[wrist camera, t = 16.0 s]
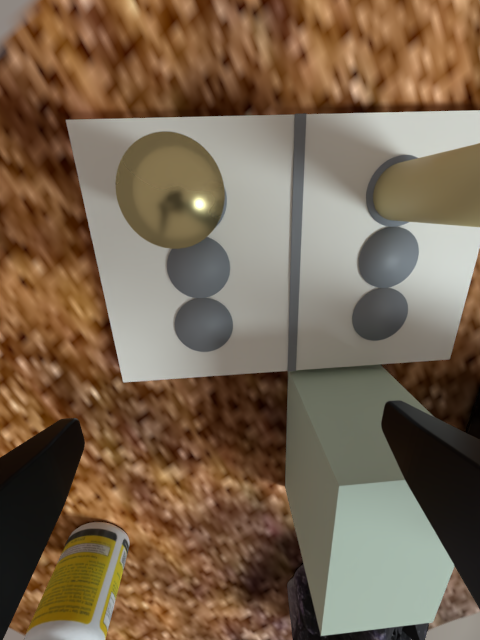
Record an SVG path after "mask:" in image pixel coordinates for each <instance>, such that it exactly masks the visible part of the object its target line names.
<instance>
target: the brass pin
mask: <svg viewBox="0 0 480 640" xmlns="http://www.w3.org/2000/svg"><path fill="white" fill-rule="evenodd" d="M115 184H116V196H117V201H118V204H119V207H120V210H121V212H122V214H123V216H124V218H125V220H126V221H127V222H128V224H129V225H130V227H131V228H132V229H133V230H134V231H135V232H136V233H137V234H138V235H139V236H141V237H142V238H143V239H145V240H146V241H148V242H150V243H152V244H154V245H157V246H160V247H164V248H170V249H180V248H186V247H190V246H193V245H195V244H197V243H199V242H201V241H202V240H204V239H205V238H206V237H207V236H208V235H209V234H210V233H211V232H212V231H213V230H214V228H215V227H216V226H217V224H218V222H219V220H220V218H221V215H222V212H223V207H224V200H225V190H224V183H223V179H222V175H221V173H220V170H219V168H218V166H217V164H216V162H215V160H214V159H213V157H212V156H211V155H210V153H209V152H208V151H207V150H206V149H205V148H204V147H203V146H202V145H200V144H199V143H198V142H196V141H195V140H193V139H192V138H190V137H188V136H186V135H183V134H180V133H176V132H170V131H161V132H154V133H151V134H148V135H146V136H143V137H141V138H140V139H138V140H137V141H135V142H134V143H133V144H132V145H131V146H130V147H129V148H128V149H127V151H126V152H125V153H124V155H123V157H122V159H121V161H120V163H119V166H118V169H117V174H116V182H115Z"/></svg>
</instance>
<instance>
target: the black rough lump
mask: <svg viewBox="0 0 480 640" xmlns="http://www.w3.org/2000/svg"><path fill="white" fill-rule="evenodd" d="M287 588H288V600H289V610H290V619H291V627H292V637H293V640H411V639H412V640H425V638H426V633H427V631H428V626H429V623H424V624H416V625H407V626H399V627H391V628H383V629H375V630H366V631H358V632H350V633H342V634H333V635H325V636H321V635H320V630H319V626H318V622H317V618H316V614H315V609H314V605H313V601H312V597H311V593H310V589H309V584H308V580H307V576H306V572H305V568H304V564H302V565H301V566H300V567H299V568H298V569H297V571H296V572H295V574H294V577H293V578H292V579H291V580H290V581H289V582H288V584H287Z"/></svg>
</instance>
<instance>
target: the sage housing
mask: <svg viewBox="0 0 480 640" xmlns="http://www.w3.org/2000/svg"><path fill="white" fill-rule="evenodd" d="M395 400H400V401H403V402H405V403H407V404H409V405H411V406H413V407H415V408H417V409H419V410H421V411H423V412H425V413H427V414H429V415H431V416H433V415H432V414H431V413H430V412H429V411H428V410H427V409H425V408H424V407H423V406H422V405H421V404H420V403H419V402H418V401H417V400H416V399H415V398H414V397H413V396H412V395H411V394H410V393H409V392H408V391H407V390H406V389H405V388H404V387H403V386H402V385H401V384H400V383H399V382H398V381H397V380H396V379H395V378H394V377H393V376H392V375H390V374H389V373H388V372H387V371H386V370H385V369H384V368H383V367H382V366H381V365H380V364H378V365H364V366H350V367H335V368H321V369H307V370H296V371H291V372H288V395H287V434H286V473H285V488H286V493H287V497H288V501H289V505H290V509H291V513H292V518H293V522H294V526H295V530H296V534H297V539H298V543H299V547H300V551H301V555H302V559H303V564H304V568H305V572H306V576H307V580H308V584H309V589H310V593H311V597H312V601H313V605H314V609H315V614H316V618H317V622H318V626H319V630H320V635H321V636H325V635H333V634H342V633H350V632H358V631H366V630H375V629H383V628H391V627H399V626H407V625H416V624H424V623H432V622H433V621H434V618H435V615H436V613H437V610H438V608H439V605H440V602H441V600H442V597H443V595H444V592H445V589H446V587H447V584H448V582H449V579H450V576H451V574H452V571H453V569H454V564H453V562H452V560H451V559H450V557H449V555H448V553H447V552H446V550H445V548H444V547H443V545H442V543H441V541H440V540H439V538H438V536H437V534H436V533H435V531H434V529H433V528H432V526H431V524H430V522H429V521H428V519H427V517H426V516H425V514H424V512H423V510H422V509H421V507H420V505H419V503H418V502H417V500H416V498H415V497H414V495H413V493H412V491H411V490H410V488H409V486H408V484H407V482H406V481H405V479H404V477H403V475H402V473H401V470H400V468H399V466H398V464H397V462H396V460H395V457H394V455H393V453H392V451H391V449H390V446H389V444H388V442H387V440H386V438H385V436H384V433H383V431H382V428H381V421H382V416H383V411H384V406H385V403H386V402H387V401H395ZM433 417H434V416H433Z"/></svg>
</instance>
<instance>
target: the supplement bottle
mask: <svg viewBox="0 0 480 640" xmlns="http://www.w3.org/2000/svg"><path fill="white" fill-rule="evenodd" d="M128 549H129V538H128V536H127V534H126V533H125V532H124V531H123V530H122V529H120V528H119V527H117V526H115V525H113V524H110V523H105V522H92V523H87V524H84V525H82V526H80V527H78V528H77V529H75V530H74V531H73V532H72V533H71V535H70V537H69V539H68V540H67V542H66V544H65V547H64V549H63V551H62V554H61V556H60V558H59V561H58V563H57V565H56V567H55V570H54V572H53V574H52V576H51V578H50V581H49V583H48V585H47V587H46V590H45V592H44V594H43V596H42V599H41V601H40V603H39V605H38V608H37V610H36V612H35V614H34V617H33V619H32V621H31V623H30V626H29V628H28V630H27V632H26V635H25V638H24V640H106V635H107V631H108V627H109V623H110V620H111V616H112V612H113V608H114V604H115V600H116V596H117V592H118V588H119V585H120V581H121V577H122V573H123V569H124V565H125V561H126V557H127V553H128Z"/></svg>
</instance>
